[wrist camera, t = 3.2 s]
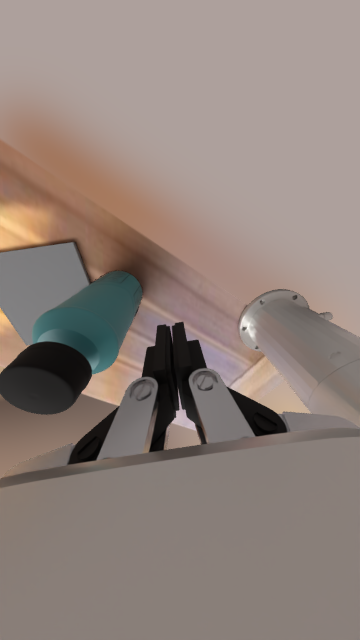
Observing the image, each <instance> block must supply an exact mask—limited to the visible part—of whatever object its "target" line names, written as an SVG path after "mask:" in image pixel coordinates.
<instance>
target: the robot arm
mask: <svg viewBox="0 0 360 640" xmlns="http://www.w3.org/2000/svg"><path fill="white" fill-rule="evenodd" d="M331 319H332V314H331V313H330V312H326V313H320V314H318V313H316V312H314V311H312V310H310V309H309V306H308V303H307V301H306V300H305V299H304V297H302V296H301V295H300V294H298V293H296V292H294V291H290V290H286V289H285V290H283V289H278V290H272V291H269V292H266V293H264V294H262V295H260V296H259V297H257V298H256V299H254V300H253V301H252V302H251V303H250V304H249V305H248V306H247V307H246V309H245V310H244V311H243V313H242V315H241V317H240V321H239V326H238V330H239V335H240V337H241V339H242V341H243V342H244V343H245V344H246V345H247V346H248V347H249V348H251V349H253V350H255V351H260V352H263V354H264V355H265V356H266V357H267V359H268V360H269V361H270V362H271V364H272V365H273V366H274V367H275V368H276V370H277V371H278V372H279V373H280V375H281V376H282V377H283V378H284V380H285V381H286V382H287V383H288V384H289V386H290V387H291V388H292V389H293V391H294V392H295V393H296V394H297V396H298V397H299V398H300V399H301V401H302V402H303V403H304V404H305V406H306V407H307V408H308V409H309V411H310V412H311V413H312V414H307V413H295V412H283V414H277V413H275V412H274V411H273V410H271V409H269V408H267V407H265V406H263V405H261V404H260V403H258V402H256V401H254V400H252V399H250V398H248V397H246V396H244V395H242V394H240V393H238V392H236V391H234V390H232V389H230V388H228V387H226V385H225V384H224V382H223V380H222V379H221V377H220V375H219V374H218V373H217V372H215V371H214V370H211V369H207V367H206V363H205V360H204V357H203V353H202V350H201V347H200V343H199V340H193V341H187V339H186V334H185V329H184V323H183V322H179V323H175V325H174V326H172V335H173V342H172V337H171V331H170V326H166V324H165V325H158V326H157V334H156V343H155V346H152V347H147V351H146V356H145V362H144V367H143V373H142V378H139V379H137V380H135V381H134V382H132V383H131V384H130V385H129V387H128V388H127V390H126V392H125V395H124V397H123V399H122V402H121V404H120V406H119V407H118V408H116V409H115V410H114V411H113V412H112V413H110V414H109V415H108V416H107V417H106V418H105V419H103V420H102V421H101V422H100V423H99V424H98V425H96V426H95V427H94V428H93V429H92V430H91V431H90V432H88V433H87V434H86V435H85V436H84V437H83V438H82V439H81V440H80V441H79V442H78V443H77V444H76V445H73V444H72V443H71V444H68V445H65V446H63V447H60V448H58V449H55V450H52V451H50V452H47V453H45V454H42V455H39V456H37V457H34V458H32V459H29V460H26V461H24V462H21V463H19V464H17V465H16V466H14V467H12V468H11V469H10V470H9V471H8V472H6V473H5V474H4V475H3V476H2V478H0V640H360V337H357V336H356V335H354V334H352V333H350V332H348V331H347V330H345V329H343V328H341V327H339V326H337V325H335V324H333V323H331V322H329V321H328V320H331ZM178 390H179V395H180V400H181V405H182V410H184V409H186V415H187V417H188V418H189V419H190V420H191V421H193V422H194V423H195V427H196V430H197V434H198V437H199V440H200V444H201V445H197V446H189V447H182V448H176V449H169V450H167V444H168V436H169V424H170V423H171V422H172V421H173V420H174V418H176V411H177V410H179V397H178Z"/></svg>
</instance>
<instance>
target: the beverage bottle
mask: <svg viewBox="0 0 360 640" xmlns="http://www.w3.org/2000/svg"><path fill="white" fill-rule="evenodd" d="M109 272H110V271H109ZM104 275H105V274H104ZM102 276H103V275H102ZM102 276H100V277H101V278H100V277H99V278H100V279H97V280H96V279H95V280H96V281H94V282H92V283H90V285H88V286H87V287H85V288H84V289H82V290H81V291H79V292H78V293H76V292H75V293H76V294H75V293H74V294H75V295H74V294H73V295H74V296H72V297H70V298H69V299H67V300H66V301H64V302H63V303H61V304H60V305H58V306H57V307H55V308H53V309H51V310H48V311H47V312H45V313H43V314H42V315H41V316H40V317H39V318H38V319H37V320H36V322H35V323H34V325H33V328H32V340H33V344H32V345H30V346H29V347H27V348H26V349H25V350H24V351H22V352H21V353H20V354H19V355H18V356H17V358H16V359H15V360H14V361H13V362H12V363H10V364H9V365H8V366H7V367H6V368H5V369H4V370H3V371H2V372H1V374H0V394H1V395H2V396H3V398H4V399H5V400H7V401H8V402H9V403H10V404H12V405H14V406H15V407H17V408H20V409H22V410H24V411H27V412H31V413H36V414H46V415H47V414H56V413H60V412H63V411H65V410H67V409H68V408H69V407H71V406H72V405H73V404H74V403H75V401H76V400H77V398H78V397H79V395H80V394H81V392H82V391H83V390H84V389H85V388H86V386H87V384H88V383H89V381H90V379H91V377H92V374H96V373H99V372H102V371H104V370H106V369H107V368H109V367H110V366H111V365H112V364H113V363H114V361H115V360H116V358H117V356H118V353H119V349H120V347H121V345H122V342H123V340H124V338H125V336H126V333H127V331H129V330H128V329H129V327H130V325H131V323H132V321H133V318H134V316H135V315H136V314H135V313H137V311H138V308H139V307H138V306H139V304H140V303H141V302H140V301H141V299H142V298H143V297H142V293H143V292H142V288H141V287H142V286H141V285H140V284H139V282H138V281H137V279H136V278H135V277H134V276H132V275H131V274H129V273H126V271H125V272H123V271H122V270H121V271H113V272H110V273H108V274H107V273H106V275H105V276H103V277H102Z"/></svg>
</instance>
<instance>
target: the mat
mask: <svg viewBox="0 0 360 640" xmlns="http://www.w3.org/2000/svg"><path fill="white" fill-rule="evenodd" d="M90 283H91V282H90V280H89V277H88V275H87V272H86V269H85V267H84V264H83V262H82V259H81V256H80V254H79V251H78V248H77V246H76V243H75V242H71V243H64V244H57V245H50V246H43V247H36V248H29V249H22V250H15V251H8V252H1V253H0V308H1V309H2V311H3V312H4V314H5V315H6V316H7V318H8V319H9V321H10V322H11V324H12V325H13V327H14V328H15V330H16V331H17V332H18V334H19V335H20V337H21V338H22V340H23V341H24V343H25V344H26V345H32V344H33V340H32V328H33V325H34V323H35V322H36V320H37V319H38V318H39V317H40V316H41V315H42V314H43V313H45V312H47V311H48V310H51V309H53V308H55V307H57V306H58V305H60V304H61V303H63V302H64V301H66V300H67V299H69V298H70V297H72V296H74V295H75V294H76V293H78V292H79V291H81V290H82V289H84V288H85V287H87V286H88V285H90ZM75 292H76V293H75ZM74 293H75V294H74ZM73 294H74V295H73Z"/></svg>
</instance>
